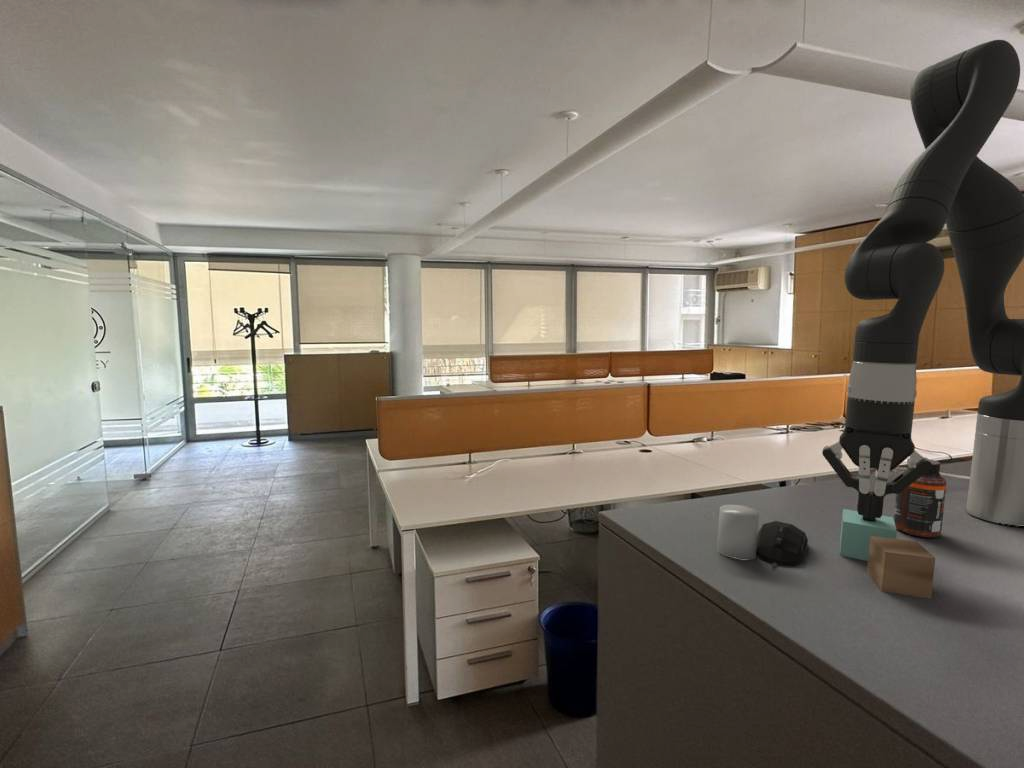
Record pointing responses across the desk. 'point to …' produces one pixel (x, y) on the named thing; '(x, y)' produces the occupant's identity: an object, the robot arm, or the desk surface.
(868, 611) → the desk surface
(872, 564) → the walnut block
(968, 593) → the desk surface
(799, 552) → the gaming mouse
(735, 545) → the grey cylinder
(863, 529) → the teal block
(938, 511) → the supplement bottle
